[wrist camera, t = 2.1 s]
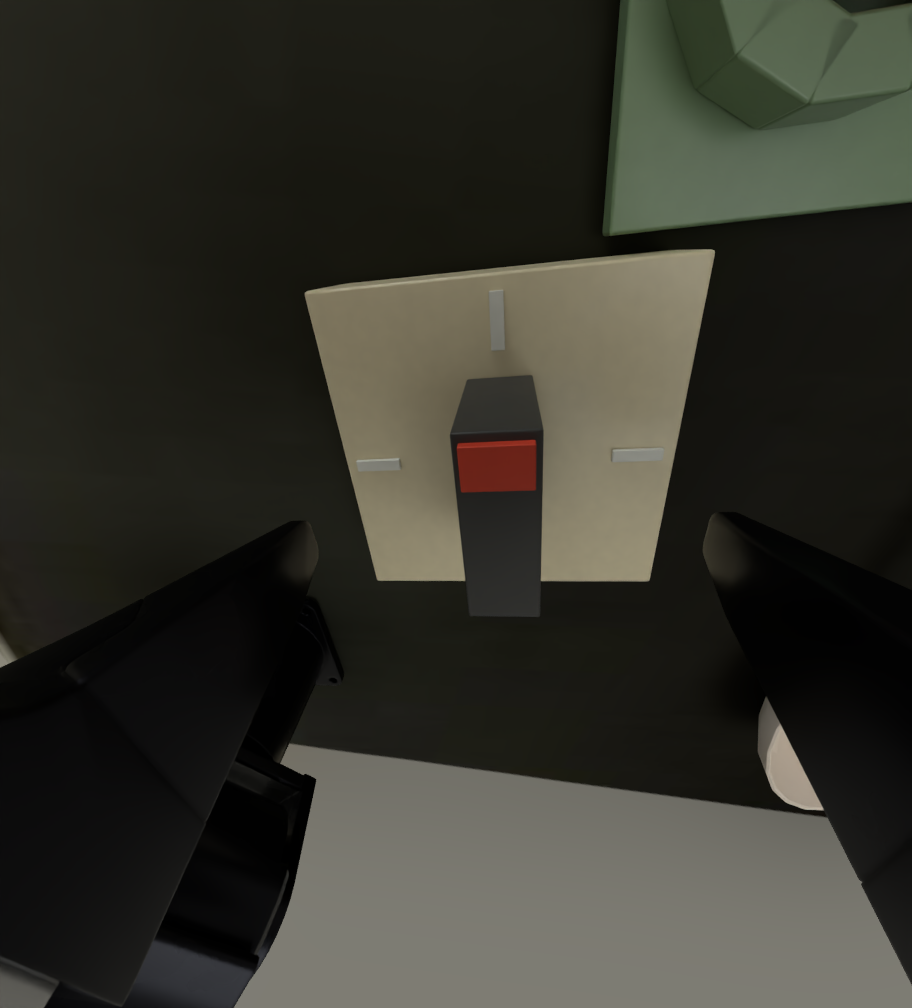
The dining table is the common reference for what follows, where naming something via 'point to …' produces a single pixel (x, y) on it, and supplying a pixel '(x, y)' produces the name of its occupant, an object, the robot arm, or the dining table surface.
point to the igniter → (757, 111)
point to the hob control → (559, 388)
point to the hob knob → (500, 494)
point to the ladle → (783, 763)
